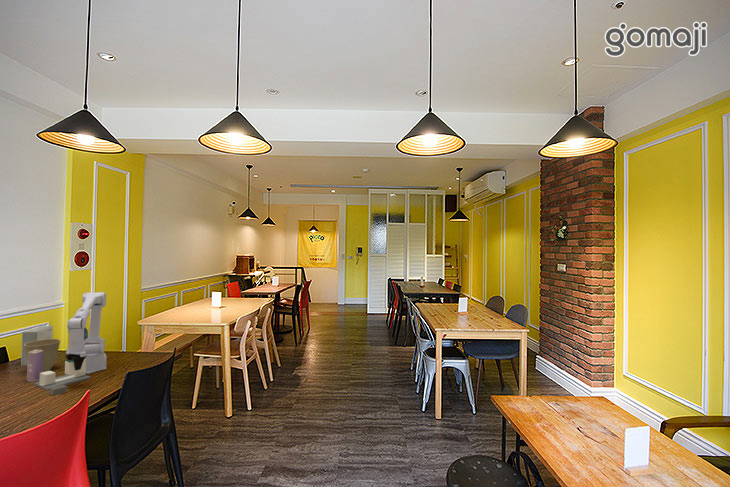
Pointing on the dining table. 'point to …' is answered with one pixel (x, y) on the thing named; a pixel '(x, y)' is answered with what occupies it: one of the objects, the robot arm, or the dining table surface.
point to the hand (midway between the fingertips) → (75, 368)
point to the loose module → (70, 367)
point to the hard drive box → (35, 338)
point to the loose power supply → (58, 390)
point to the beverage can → (34, 365)
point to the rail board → (59, 379)
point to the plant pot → (44, 351)
